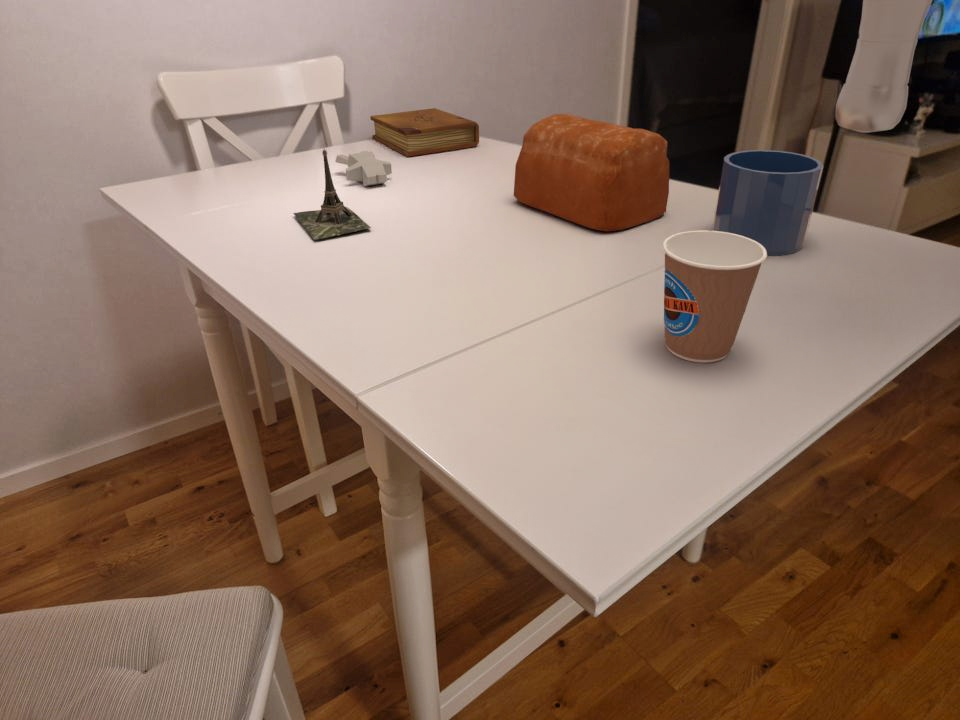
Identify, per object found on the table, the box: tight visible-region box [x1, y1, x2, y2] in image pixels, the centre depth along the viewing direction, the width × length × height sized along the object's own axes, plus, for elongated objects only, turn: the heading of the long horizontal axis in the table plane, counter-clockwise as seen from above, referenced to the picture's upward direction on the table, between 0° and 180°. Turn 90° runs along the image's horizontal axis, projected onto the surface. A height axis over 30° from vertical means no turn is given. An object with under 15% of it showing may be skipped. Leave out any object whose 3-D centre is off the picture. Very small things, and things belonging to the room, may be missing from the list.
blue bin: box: [711, 149, 824, 257], centre depth 99 cm, size 13×13×12 cm
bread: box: [513, 113, 670, 232], centre depth 113 cm, size 17×24×15 cm
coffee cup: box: [662, 229, 768, 364], centre depth 71 cm, size 10×10×12 cm
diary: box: [370, 107, 480, 158], centre depth 161 cm, size 23×19×6 cm
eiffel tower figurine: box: [293, 143, 372, 241], centre depth 110 cm, size 15×10×13 cm
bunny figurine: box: [334, 150, 393, 187], centre depth 135 cm, size 10×5×15 cm
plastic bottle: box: [834, 0, 933, 134], centre depth 66 cm, size 6×7×20 cm
